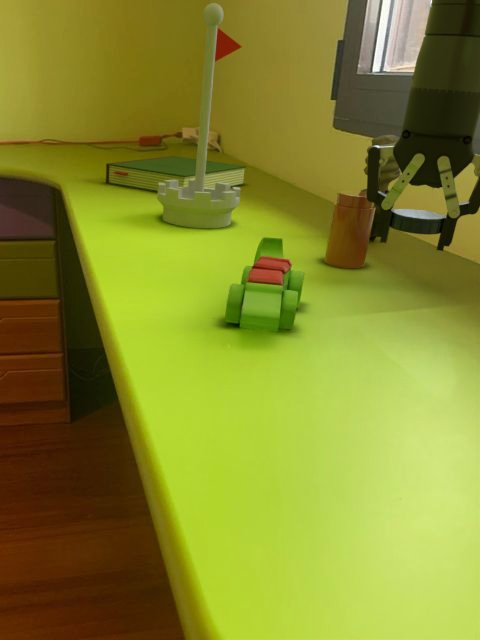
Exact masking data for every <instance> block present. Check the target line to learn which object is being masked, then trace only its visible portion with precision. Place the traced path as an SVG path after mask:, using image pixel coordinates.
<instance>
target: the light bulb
mask: <svg viewBox="0 0 480 640" xmlns="http://www.w3.org/2000/svg"><path fill="white" fill-rule="evenodd" d="M399 138H400V136H398V135H395V134H384V135H380V136H376V137H373V138H372V139H371V145H369V146H368V147H367V148H366V153H367V154H368V152H369V150H370V148H372V147H373V146H375V145H378V146H380V147H385V146H395V144H396V143H397V142H398V140H399ZM364 163H365V165H366V166H365V167H364V168H363V172H364V175H366V176H367V174H368V155H366V157H365V159H364ZM401 174H402V173H401V171H400V168H399V166H398V164H397V162H396V160H395V158H394V155H391V156H390V157H389V158H388V161H387V163H386V164H385V165H384V166H382V167H381V170H380V192H382V193H384V194H386V195H387V194H388V193H389V191H390V189H389V186H390V183H392V182H393V181H395V180H398V178H399V177H400V175H401ZM360 192H367V188H364V189H360ZM373 206H375V213H374V218H373V223H372V228H371V233H370V238H369V242H374V241H375V240H376V238H378V237H377V235H376V229H377V224H378V220H379V215H380V208H379V206H378V205H376V204H374V205H373ZM394 206H395V203H394V204H393V207H392V208H393V209H394Z"/></svg>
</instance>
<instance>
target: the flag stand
mask: <svg viewBox="0 0 480 640" xmlns="http://www.w3.org/2000/svg"><path fill="white" fill-rule="evenodd" d="M202 19H203V22H204V23H205V25H206V35H205V48H204V60H203V72H202V84H201V85H202V87H201V100H200V111H199V124H198V135H197V136H198V137H197V148H196V149H197V150H196V159H197V161H196V174H195V180H189V181H188V187H178V183H179V181H178V180H165V181H164V183H158V192H157V197H156V199H157V201H158V202H159V203H160V204H161V205H162V220H163V221H164V222H166V223H168V224H171V225H175V226H179V227H185V228H186V227H187V228H196V229H217V228H218V229H219V228H226V227H228V226H230V225H231V221H232V213H233V211H234V210H235V209H237V207H238V206H239V205H240V199H241V191H242V190H241V187H240V186H235V187H231V184H227V183H221V182H216V183H215V189H212V188H204V181H205V170H206V161H207V155H208V143H209V134H210V133H209V132H210V123H211V122H210V121H211V111H212V97H213V88H214V87H213V86H214V73H215V64H216V63H215V62H218V61H219V60H221V59H223V58H225V57H227V56H228V55H230V54H232V53H234V52H236V51H238V50H239V49H241V48H243V46H242V45H241V44H239V42H237V41H235V40H234V39H233V38H232V37H230V36H229V35H228V34H227V33H225V32H224V31H223V30H221V28H219V25H221V23H222V22H223V20H224V10H223V8H222V6H221V5H220V4H218V3H216V2H211V3H209V4H207V5H206V6H205V7H204V9H203V11H202Z"/></svg>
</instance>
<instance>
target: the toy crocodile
mask: <svg viewBox="0 0 480 640" xmlns="http://www.w3.org/2000/svg"><path fill="white" fill-rule="evenodd" d="M283 241H284V240H283V238H282V237H269V236H264V237H262V238H261V239H260V241H259V243H258V245H257V248H256V252H255V255H254V259H253V265H248V264H247V265H245V266H244V268H243V272H242V275H241V280H240V283H234V282H233V283H231V284H230V286H229V289H228V295H227V300H226V307H225V322H226V323H230V324H237V325H238V324H239V328H240V329H249V330H258V331H266V332H274V333H275V332H276V333H278V331H279V329H283V330H292V329H293V327H294V324H295V319H296V313H297V309H299V308H300V303H301V297H302V292H303V285H304V280H305V279H304V278H305V274H306V273H305V272H304V271H303V270H295V269H294V270H292V267H293V263H292V261H291V260H290V259H288V258H285V257H284V256H285V255H284V245H283V244H284V242H283Z"/></svg>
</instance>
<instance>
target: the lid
mask: <svg viewBox="0 0 480 640" xmlns="http://www.w3.org/2000/svg"><path fill="white" fill-rule="evenodd" d="M444 218H445V215H443V214H441V213H438V212H434V211H429V210H423V209H415V208H414V209H413V208H395V209H394V210H393V213H392V217H391V222H390V229H393V230H396V231H398V232H402V233H409V234H413V235H414V234H416V235H427V236H428V235H440V233H441V231H442V227H443V222H444Z"/></svg>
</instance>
